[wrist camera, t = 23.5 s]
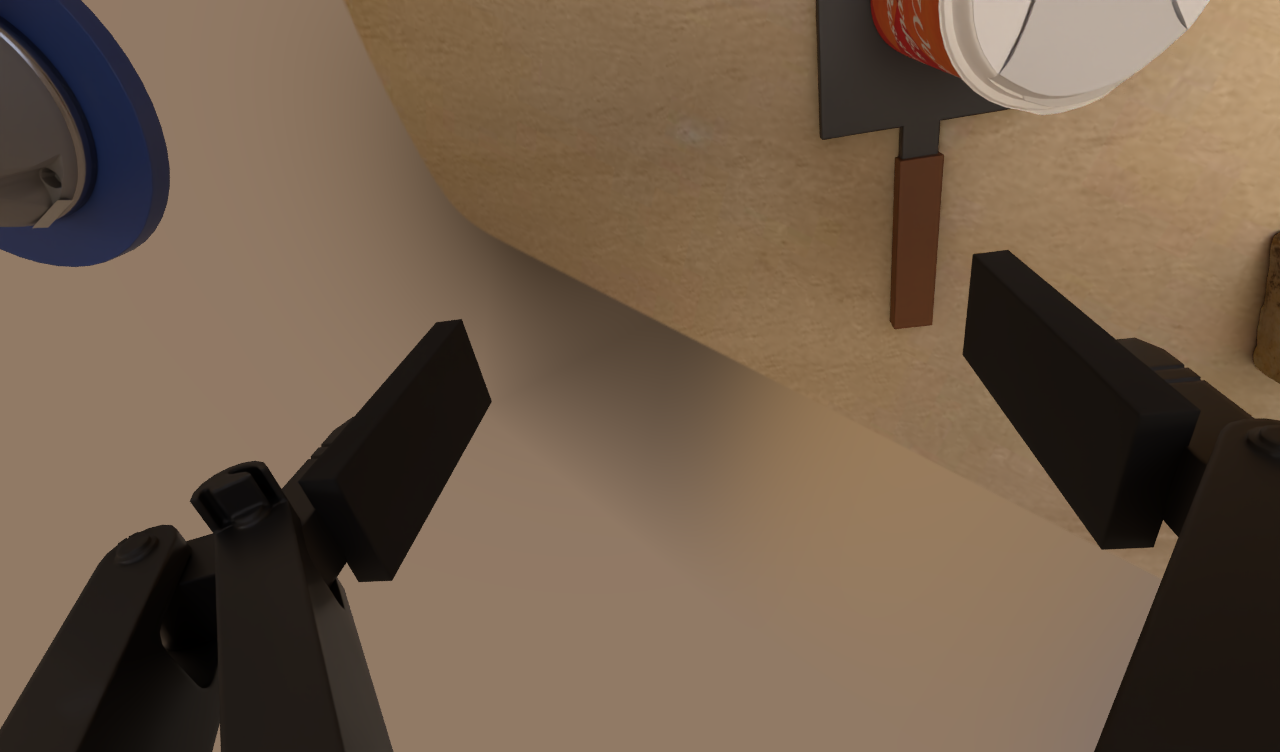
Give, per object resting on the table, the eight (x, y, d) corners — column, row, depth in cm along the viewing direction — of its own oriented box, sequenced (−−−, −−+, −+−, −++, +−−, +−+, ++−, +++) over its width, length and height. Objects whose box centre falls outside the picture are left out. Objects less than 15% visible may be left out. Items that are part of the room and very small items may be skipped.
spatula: (825, 328, 42) (827, 336, 41) (811, -141, 29) (815, -146, 28) (995, 309, 40) (1002, 317, 39) (1060, -203, 27) (1073, -211, 26)
